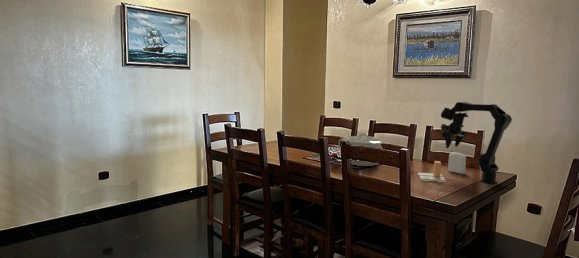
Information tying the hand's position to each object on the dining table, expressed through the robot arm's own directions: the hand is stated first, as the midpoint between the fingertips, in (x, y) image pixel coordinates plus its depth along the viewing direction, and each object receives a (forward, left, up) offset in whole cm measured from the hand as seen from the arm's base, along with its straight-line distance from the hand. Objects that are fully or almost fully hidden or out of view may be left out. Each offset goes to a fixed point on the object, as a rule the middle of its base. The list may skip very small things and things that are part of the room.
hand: (451, 147), depth 242 cm
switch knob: (-9, +18, -15) cm, 25 cm away
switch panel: (-7, +20, -16) cm, 27 cm away
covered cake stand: (+37, +39, -16) cm, 56 cm away
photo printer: (+1, -6, -16) cm, 17 cm away
